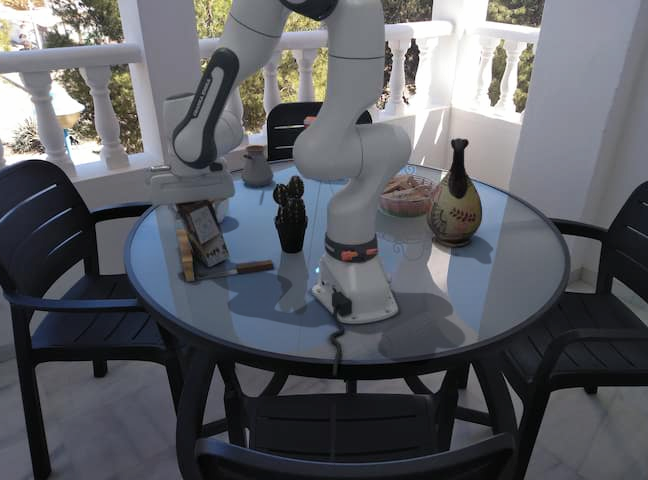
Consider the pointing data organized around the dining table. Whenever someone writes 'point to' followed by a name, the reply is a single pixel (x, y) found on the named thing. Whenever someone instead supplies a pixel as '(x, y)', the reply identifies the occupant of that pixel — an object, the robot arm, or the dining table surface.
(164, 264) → the dining table surface
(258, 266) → the table knife
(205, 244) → the coffee box
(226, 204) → the lidded bowl
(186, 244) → the oak rail
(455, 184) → the ceramic jug
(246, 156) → the coffee pot
